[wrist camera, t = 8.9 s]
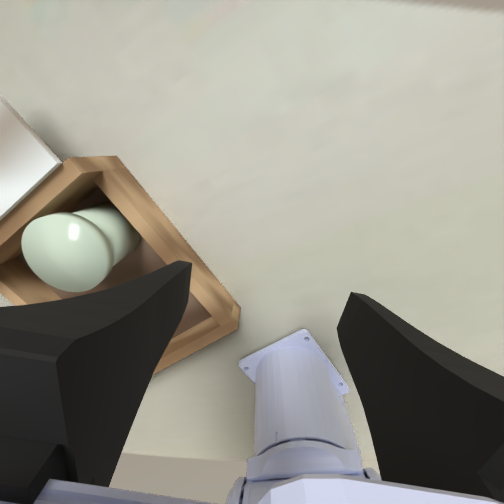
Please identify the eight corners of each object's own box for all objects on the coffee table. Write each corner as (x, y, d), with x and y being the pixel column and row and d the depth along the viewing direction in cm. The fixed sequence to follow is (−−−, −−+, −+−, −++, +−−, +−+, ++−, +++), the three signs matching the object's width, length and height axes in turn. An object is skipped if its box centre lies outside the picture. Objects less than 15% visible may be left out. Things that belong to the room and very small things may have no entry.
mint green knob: (157, 237, 20) (122, 267, 15) (114, 268, 21) (69, 304, 16) (112, 185, 19) (57, 198, 14) (69, 221, 20) (4, 245, 15)
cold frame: (240, 307, 23) (234, 350, 18) (133, 367, 27) (104, 417, 22) (27, 46, 16) (-77, 0, 11) (-81, 173, 20) (-199, 181, 15)
